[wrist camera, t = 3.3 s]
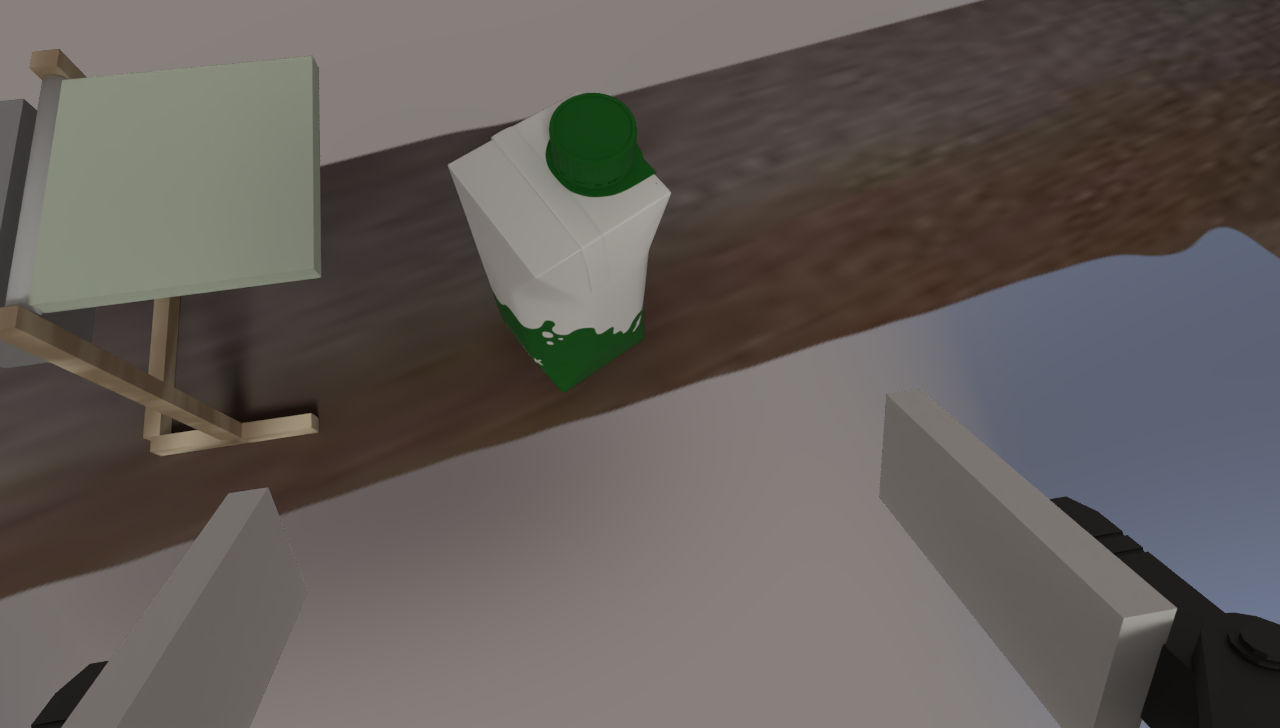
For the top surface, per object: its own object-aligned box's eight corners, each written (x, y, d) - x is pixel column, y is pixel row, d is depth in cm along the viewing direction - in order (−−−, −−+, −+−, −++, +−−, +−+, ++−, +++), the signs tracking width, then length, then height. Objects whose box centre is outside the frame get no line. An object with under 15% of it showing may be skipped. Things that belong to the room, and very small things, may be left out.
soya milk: (662, 340, 49) (694, 167, 30) (558, 412, 47) (523, 274, 28) (591, 254, 51) (579, 43, 32) (488, 318, 49) (413, 131, 30)
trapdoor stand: (153, 457, 44) (-152, 349, 27) (168, 262, 49) (-81, 62, 32) (318, 432, 45) (130, 312, 28) (317, 244, 50) (157, 39, 33)
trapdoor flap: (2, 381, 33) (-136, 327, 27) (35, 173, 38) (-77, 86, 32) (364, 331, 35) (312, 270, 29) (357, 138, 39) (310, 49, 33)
